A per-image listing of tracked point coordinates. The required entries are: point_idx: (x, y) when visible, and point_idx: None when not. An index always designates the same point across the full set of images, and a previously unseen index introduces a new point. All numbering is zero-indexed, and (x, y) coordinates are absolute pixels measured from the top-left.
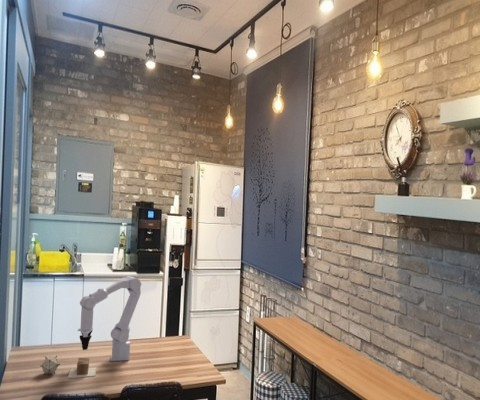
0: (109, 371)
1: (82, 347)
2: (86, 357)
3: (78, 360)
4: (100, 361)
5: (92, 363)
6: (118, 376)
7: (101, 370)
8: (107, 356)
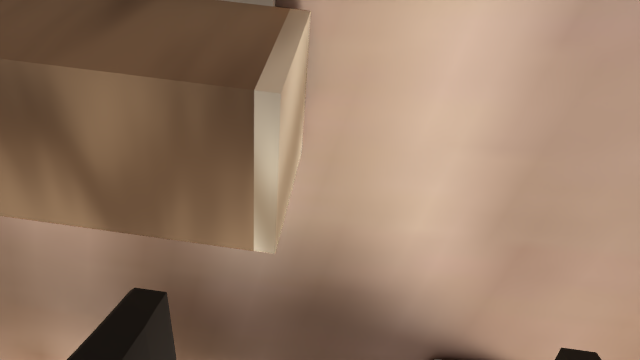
0: None
1: (90, 336)
2: (264, 215)
3: (118, 80)
4: (485, 279)
5: (456, 198)
6: (31, 341)
7: (190, 253)
8: (621, 354)
